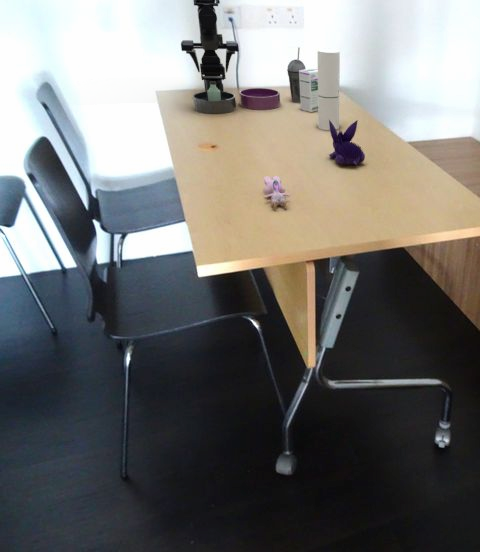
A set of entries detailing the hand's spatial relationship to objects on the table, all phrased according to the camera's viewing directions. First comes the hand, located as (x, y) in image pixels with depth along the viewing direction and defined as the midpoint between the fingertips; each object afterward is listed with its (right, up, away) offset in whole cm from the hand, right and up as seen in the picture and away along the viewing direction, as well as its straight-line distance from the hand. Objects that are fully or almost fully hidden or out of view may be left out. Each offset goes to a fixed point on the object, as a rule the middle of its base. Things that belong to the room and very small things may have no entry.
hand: (212, 72), depth 199 cm
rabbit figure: (+35, -53, -58) cm, 86 cm away
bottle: (-1, -11, +6) cm, 13 cm away
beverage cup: (+25, -3, +25) cm, 36 cm away
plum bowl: (+13, -8, +15) cm, 21 cm away
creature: (+49, -38, -31) cm, 70 cm away
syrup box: (+32, -9, +15) cm, 37 cm away
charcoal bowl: (-1, -11, +7) cm, 13 cm away
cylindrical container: (+41, -20, -3) cm, 46 cm away
